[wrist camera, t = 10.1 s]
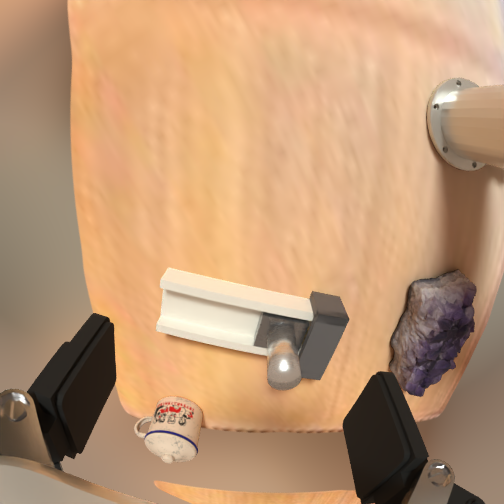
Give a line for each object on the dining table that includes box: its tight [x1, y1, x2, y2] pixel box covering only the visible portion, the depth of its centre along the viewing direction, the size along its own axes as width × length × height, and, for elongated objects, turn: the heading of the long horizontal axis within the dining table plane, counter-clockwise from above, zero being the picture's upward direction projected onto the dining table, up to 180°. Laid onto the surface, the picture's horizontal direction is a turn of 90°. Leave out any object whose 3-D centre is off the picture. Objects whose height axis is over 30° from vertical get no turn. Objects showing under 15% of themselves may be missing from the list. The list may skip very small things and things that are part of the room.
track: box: [156, 267, 349, 380], centre depth 39 cm, size 24×10×6 cm, turn 77°
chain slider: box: [254, 311, 310, 390], centre depth 36 cm, size 10×5×10 cm, turn 77°
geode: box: [389, 270, 476, 397], centre depth 38 cm, size 20×12×10 cm, turn 176°
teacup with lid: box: [134, 396, 203, 463], centre depth 45 cm, size 12×9×12 cm
